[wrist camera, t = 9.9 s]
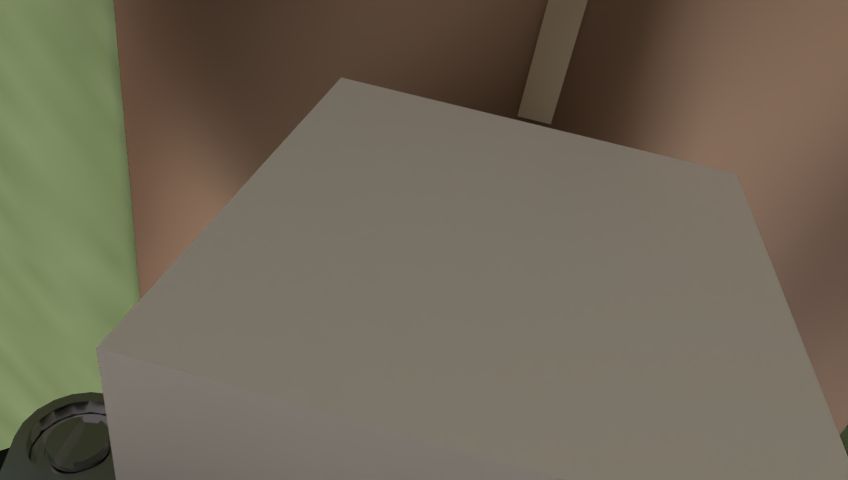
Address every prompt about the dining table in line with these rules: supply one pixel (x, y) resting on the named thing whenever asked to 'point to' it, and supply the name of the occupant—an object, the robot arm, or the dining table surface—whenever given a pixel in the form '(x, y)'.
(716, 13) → the brown rectangular plate
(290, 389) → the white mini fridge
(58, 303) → the dining table surface
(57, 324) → the dining table surface
